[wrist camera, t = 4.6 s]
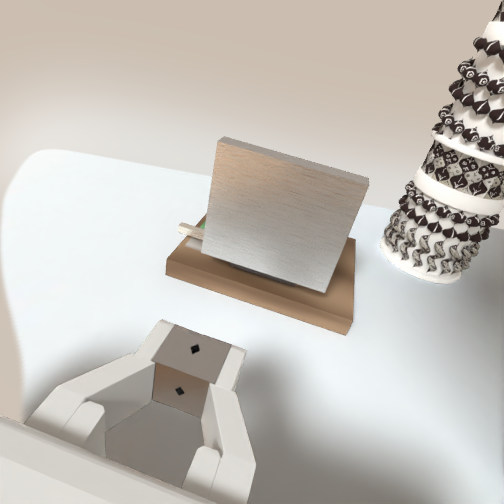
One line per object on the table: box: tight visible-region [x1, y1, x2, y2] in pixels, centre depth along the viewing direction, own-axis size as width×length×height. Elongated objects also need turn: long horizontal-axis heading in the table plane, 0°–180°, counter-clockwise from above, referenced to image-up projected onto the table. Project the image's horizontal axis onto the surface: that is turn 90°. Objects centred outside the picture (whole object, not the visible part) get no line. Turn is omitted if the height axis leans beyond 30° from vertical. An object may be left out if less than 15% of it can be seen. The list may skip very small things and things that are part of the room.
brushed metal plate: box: [178, 137, 369, 293], centre depth 25 cm, size 5×12×9 cm, turn 75°
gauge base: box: [165, 213, 356, 335], centre depth 30 cm, size 12×14×6 cm
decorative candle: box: [379, 0, 504, 284], centre depth 31 cm, size 9×9×25 cm
